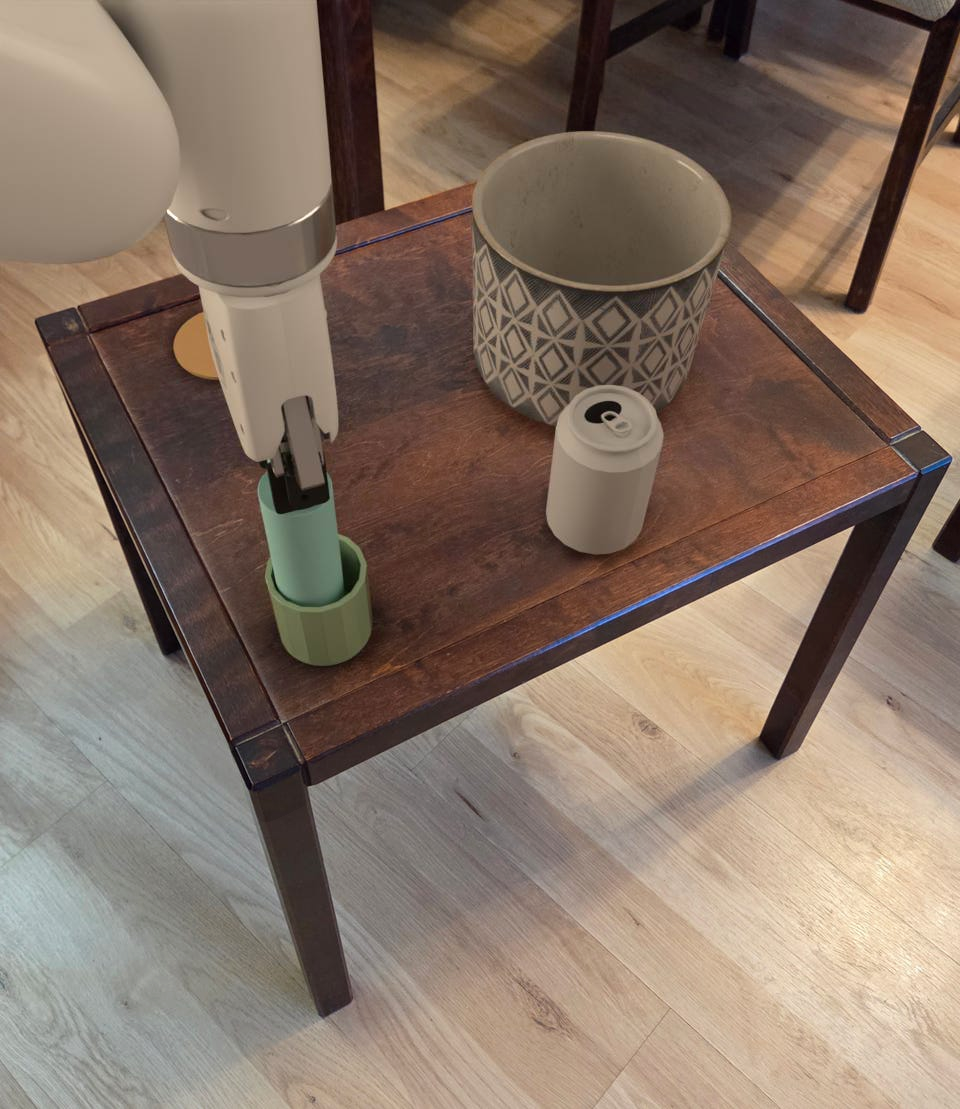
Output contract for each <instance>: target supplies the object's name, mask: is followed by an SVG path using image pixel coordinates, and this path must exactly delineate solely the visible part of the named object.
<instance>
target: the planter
mask: <svg viewBox="0 0 960 1109" xmlns="http://www.w3.org/2000/svg"><path fill="white" fill-rule="evenodd" d="M471 220H472V222H471V223H472V226H471V228H472V229H471V230H472V235H471V236H472V237H471V238H472V317H473V318H472V320H473V323H472V328H473V329H472V330H473V331H472V332H473V334H472V335H473V340H472V341H473V356H474V361H475V364H476V367H477V370H478V372H479V375H480V376H481V378H482V380H483V382H484V383H485V384H486V386H487V387H488V389H490V391H491V392H492V393H493V394H494V396H496V397H497V399H499V400H500V401H501V402H502V403H504V405H506V406H508V407H509V408H511V409H512V410H513V411H515V412H517V414H520V415H522V416H524V417H526V418H528V419H531V420H532V421H535V422H537V423H541V424H544V425H547V426H550V427H554V428H556V426H557V422H558V418H559V415H560V414H561V413H562V411H563V410H564V409H565V407H566V406H567V405H569V404H570V403H571V401H572V400H573V399H574V397H575V396H576V395H578V394H579V393H581V392H582V391H584V390H585V389H588V388H591V387H595V386H598V385H616V386H622V387H626V388H629V389H631V390H634V391H636V392H638V393H640V394H641V395H642V396H644V397H645V398H646V399H648V400H649V402H650V403H651V404H652V406H653V407H654V409H655V410H656V414H657V413H659V412H660V411H662V410H663V409H664V408H666V407H667V406H669V405H670V403H672V402H673V401H674V399H675V398H676V397H677V396H678V394H679V393H680V392H681V390H682V389H683V387H684V385H685V383H686V381H687V379H688V376H689V373H690V370H691V367H692V361H693V359H694V356H695V353H696V349H697V346H698V342H699V338H700V335H701V332H702V328H703V325H704V322H705V318H706V315H707V311H708V308H709V305H710V301H711V299H712V298H711V297H712V294H713V291H714V288H715V283H716V281H717V277H718V273H719V270H720V266H721V263H722V259H723V257H724V253H725V249H726V246H727V243H728V239H729V235H730V233H731V227H732V212H731V206H730V203H729V201H728V197H727V196H726V194H725V192H724V190H723V189H722V187H721V185H720V184H719V183H718V182H717V180H716V179H715V178H714V177H713V175H711V174H710V173H709V172H708V171H707V170H706V169H705V168H704V167H702V165H700V164H699V163H698V162H696V161H695V160H693V159H692V158H690V157H688V155H687V156H686V155H685V154H684V153H682V152H680V151H678V150H675V149H673V148H671V147H670V146H667V145H665V144H661V143H659V142H656V141H653V140H650V139H647V138H643V137H639V136H635V135H630V134H626V133H620V132H619V133H618V132H610V131H598V130H597V131H595V130H585V131H584V130H581V131H567V132H559V133H553V134H548V135H544V136H540V137H537V138H534V139H531V140H528V141H525V142H522V143H520V144H518V145H516V146H513V147H512V148H510V149H508V150H506V151H505V152H503V153H502V154H500V155H499V156H497V157H496V158H495V159H494V160H492V162H491V163H490V164H488V165H487V166H486V168H485V169H484V170H483V172H481V175H479V178H478V179H477V181H476V184H475V185H474V188H473V192H472V199H471Z"/></svg>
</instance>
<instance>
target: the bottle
mask: <svg viewBox="0 0 960 1109" xmlns="http://www.w3.org/2000/svg"><path fill="white" fill-rule="evenodd" d="M280 449H281V453H282V452H286V451H290V445H289V441H288V442H284V443H280ZM267 462H268V463H269V462H271V461H270V459H268V460H267ZM327 478H328V486H329V495H330V499H329V500H328V501H327V502H326V503H323V504H319V505H316V506H313V507H310V508H307V509H303V510H297V511H293V512H289V513H286V514H277V513H276V511H275V508H274V505H273V499H272V494H271V489H270V484H269V479H268V473H267V471H266V472H265V473H264V474H263V475H262V476H261V478H260V480H259V482H258V484H257V497H258V502H259V507H260V512H261V516H262V521H263V526H264V531H265V535H266V540H267V545H268V551H269V556H270V557H271V560H272V565H273V570H274V575H275V580H276V584H277V589H278V593H279V594H280V595H281V596H282V597H283V598H284V599H285V600H286V601H289V602H291V603H294V604H296V605H299V606H301V607H322V606H326V605H329V604H332V603H336V602H338V601H339V600H341V599H342V598H343V596H344V582H343V573H342V565H341V556H340V547H339V539H338V534H339V533H338V532H339V531H338V522H337V514H336V505H335V497H334V488H333V482H332V478H331V476H330V475H329V473H328V472H327Z"/></svg>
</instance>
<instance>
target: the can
mask: <svg viewBox="0 0 960 1109" xmlns="http://www.w3.org/2000/svg"><path fill="white" fill-rule="evenodd" d="M664 436H665V434H664V431H663V427H662V423H661V421H660V420H659V417H658V415H657V413H656V410H655V409H654V407H653V406H652V404H651V403H650V402H649V400H648V399H646V398H645V397H644V396H642V395H641V394H640V393H638V392H636V391H634V390H631V389H629V388H626V387H622V386H616V385H598V386H595V387H591V388H588V389H585V390H584V391H582V392H581V393H579V394H578V395H576V396H575V397H574V399H573V400H572V401H571V403H570V404H569V405H567V406H566V407H565V409H564V410H563V411H562V413H561V414H560V415H559V418H558V422H557V426H556V427H555V433H554V440H553V448H552V449H553V450H552V458H551V465H550V466H551V467H550V474H549V483H548V492H547V500H546V507H545V508H546V509H545V515H546V521H547V525H548V527H549V529H550V531H551V532H552V533H553V535H554V536H555V537H556V538H557V539H558V540H559V541H560V542H561V543H562V544H564V545H565V546H567V547H569V548H571V549H573V550H575V551H577V552H579V553H585V554H591V555H610V554H613V553H616V552H619V551H622V550H625V549H626V548H627V547H629V546H630V545H631V544H633V543H634V542H635V541H636V540H637V538H638V537H639V535H640V533H641V532H642V530H643V526H644V522H645V518H646V514H647V509H648V506H649V501H650V499H651V498H650V497H651V493H652V489H653V485H654V481H655V477H656V473H657V469H658V465H659V462H660V461H659V460H660V456H661V452H662V449H663V442H664Z"/></svg>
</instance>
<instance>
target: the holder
mask: <svg viewBox="0 0 960 1109" xmlns="http://www.w3.org/2000/svg"><path fill="white" fill-rule="evenodd" d="M338 539H339V547H340V556H341V565H342V573H343V582H344V596H343V598H342V599H341V600H339V601H338V602H336V603H332V604H329V605H326V606H322V607H301V606H299V605H296V604H294V603H291V602H289V601H286V600H285V599H284V598H283V597H282V596H281V595H280V594H279V593H278V589H277V584H276V580H275V575H274V570H273V565H272V560H271V556H269V558H268V560H267V562H266V568H265V574H264V579H265V583H266V587H267V591H268V595H269V600H270V604H271V608H272V611H273V616H274V619H275V623H276V627H277V632H278V634H279V637H280V641H281V643H282V646H283V647H284V649H285V650H286V651H287V652H288V654H290V655H291V656H292V657H293V658H294V659H296V660H298V661H300V662H302V663H304V664H307V665H310V666H316V667H318V666H319V667H328V666H336V665H338V664H342V663H345V662H347V661H349V660H350V659H353V657H355V656H357V654H358V653H360V652H361V650H362V649H363V648H364V647H365V646H366V645H367V643H368V641H369V640H370V637H371V634H372V630H373V611H372V610H373V609H372V601H371V593H370V583H369V582H370V581H369V574H368V565H367V562H366V559H365V555H364V554H363V551H362V548H360V547H359V546H358V545H357V543H355V542H354V541H353V540H352V539H351V538H350V537H348V536H345V535H344V534H340V533H338Z"/></svg>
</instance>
